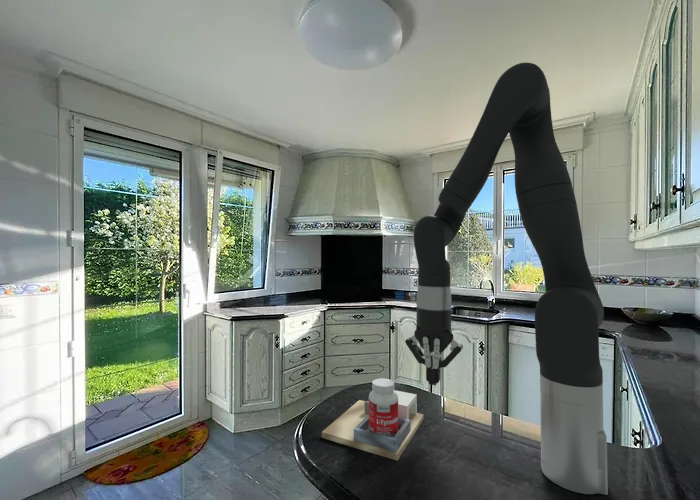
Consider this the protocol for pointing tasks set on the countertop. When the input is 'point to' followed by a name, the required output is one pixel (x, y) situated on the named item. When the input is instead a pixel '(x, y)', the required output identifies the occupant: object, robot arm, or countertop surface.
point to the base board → (356, 432)
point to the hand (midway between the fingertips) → (433, 383)
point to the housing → (406, 404)
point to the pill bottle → (383, 408)
